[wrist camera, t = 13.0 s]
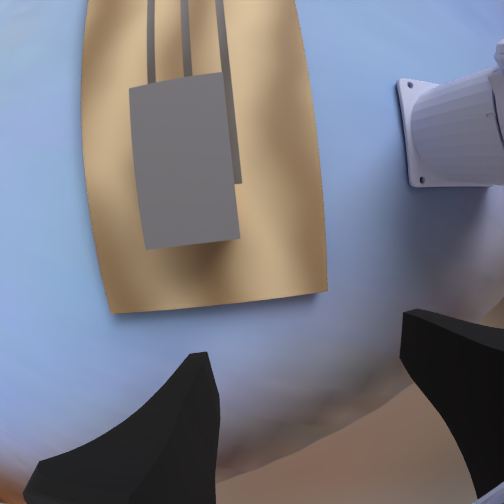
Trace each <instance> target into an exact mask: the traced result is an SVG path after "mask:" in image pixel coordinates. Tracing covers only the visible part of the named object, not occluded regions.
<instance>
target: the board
mask: <svg viewBox="0 0 504 504" xmlns="http://www.w3.org/2000/svg"><path fill="white" fill-rule="evenodd" d="M217 72H223V79H224V89H225V99H226V109H227V119H228V128H229V138H230V147H231V157H232V166H233V175H234V185H235V194H236V203H237V212H238V221H239V230H240V238H241V239H234V240H225V241H217V242H208V243H200V244H192V245H183V246H175V247H167V248H159V249H151V250H146V249H145V244H144V238H143V231H142V225H141V218H140V212H139V204H138V197H137V189H136V180H135V171H134V161H133V151H132V138H131V124H130V105H129V88H133V87H137V86H142V85H146V84H151V83H155V82H160V81H165V80H171V79H176V78H182V77H188V76H195V75H202V74H209V73H217ZM81 119H82V142H83V157H84V169H85V179H86V188H87V196H88V204H89V211H90V218H91V224H92V230H93V236H94V241H95V247H96V252H97V257H98V262H99V266H100V271H101V275H102V280H103V284H104V288H105V292H106V296H107V300H108V304H109V308H110V312H111V314H117V313H132V312H146V311H159V310H171V309H182V308H193V307H203V306H213V305H223V304H232V303H241V302H250V301H258V300H266V299H274V298H282V297H290V296H297V295H304V294H311V293H318V292H325V291H328V282H327V254H326V234H325V218H324V204H323V191H322V179H321V169H320V158H319V149H318V140H317V132H316V123H315V116H314V108H313V101H312V94H311V87H310V81H309V74H308V68H307V62H306V56H305V51H304V45H303V40H302V34H301V29H300V24H299V19H298V15H297V10H296V5H295V1H294V0H89V2H88V8H87V16H86V24H85V33H84V44H83V58H82V80H81Z"/></svg>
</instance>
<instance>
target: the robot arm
mask: <svg viewBox="0 0 504 504" xmlns="http://www.w3.org/2000/svg"><path fill="white" fill-rule="evenodd" d="M494 58H495V60H496V62H497V64H498V65H496V66H493V67H490V68H487V69H484V70H481V71H478V72H475V73H472V74H470V75H467V76H464V77H461V78H458V79H456V80H453V81H450V82H447V83H445V84H442V85H439V84H434V83H429V82H424V81H418V80H412V79H405V78H401V79H399V80H398V81H397V89H398V94H399V100H400V106H401V112H402V119H403V126H404V134H405V142H406V151H407V162H408V175H409V183H410V185H411V186H412V187H462V186H485V187H491V186H492V185H502V186H504V38H503V39H501V40H500V41H499V42H498V43H497V46H496V53H495V54H494ZM407 83H408V84H409V85H410V87H411V88H409V87H408V85H407ZM420 177H421V178H422V183H420ZM400 359H401V361H402V363H403V365H404V367H405V368H406V370H407V372H408V373H409V375H410V377H411V378H412V379H413V381H414V382H415V383H416V384H417V386H418V387H419V388H420V390H421V391H422V392H423V393H424V394H425V396H426V397H427V398H428V400H429V401H430V402H431V403H432V404H433V406H434V407H435V408H436V410H437V411H438V412H439V414H440V415H441V416H442V418H443V419H444V421H445V422H446V424H447V426H448V428H449V429H450V431H451V433H452V435H453V436H454V438H455V440H456V442H457V444H458V447H459V449H460V450H461V453H462V455H463V457H464V460H465V462H466V465H467V467H468V470H469V472H470V475H471V478H472V481H473V484H474V488H475V491H476V494H477V499H478V500H477V501H475V502H473V503H472V504H504V329H500V328H493V327H488V326H483V325H479V324H474V323H470V322H466V321H463V320H459V319H455V318H452V317H448V316H445V315H441V314H438V313H434V312H430V311H426V310H421V309H414V310H410V311H407V312H403V323H402V337H401V348H400ZM219 428H220V399H219V393H218V390H217V386H216V383H215V379H214V375H213V372H212V368H211V364H210V361H209V357H208V353H207V352H200V353H192V354H189V355H188V357H187V358H186V359H185V360H184V361H183V363H182V364H181V365H180V366H179V367H178V369H177V370H176V371H175V372H174V374H173V375H172V376H171V377H170V378H169V379H168V380H167V382H166V383H165V384H164V385H163V386H162V387H161V388H160V389H159V390H158V391H157V392H156V393H155V394H154V395H153V396H152V397H151V398H150V399H149V400H148V401H147V402H146V403H145V404H144V405H143V406H142V407H141V408H140V409H138V410H137V411H136V412H135V413H134V414H132V415H131V416H130V417H129V418H127V419H126V420H125V421H123V422H122V423H120V424H119V425H117V426H116V427H114V428H113V429H111V430H110V431H108V432H107V433H105V434H103V435H102V436H100V437H98V438H96V439H95V440H93V441H91V442H89V443H87V444H85V445H83V446H80V447H78V448H76V449H74V450H71V451H69V452H66V453H63V454H60V455H58V456H55V457H52V458H49V459H45V460H42V461H39V463H38V465H37V467H36V469H35V470H34V472H33V474H32V476H31V478H30V480H29V482H28V484H27V486H26V488H25V490H24V492H23V497H24V499H25V501H26V503H27V504H216V494H215V468H216V458H217V448H218V438H219Z"/></svg>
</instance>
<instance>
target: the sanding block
mask: <svg viewBox="0 0 504 504" xmlns="http://www.w3.org/2000/svg"><path fill="white" fill-rule="evenodd" d="M129 105H130V124H131V138H132V151H133V161H134V171H135V180H136V189H137V197H138V204H139V212H140V218H141V225H142V231H143V238H144V244H145V249H146V250H151V249H159V248H167V247H175V246H183V245H192V244H200V243H208V242H217V241H225V240H234V239H241V238H240V230H239V221H238V212H237V203H236V194H235V185H234V175H233V166H232V157H231V147H230V138H229V128H228V119H227V109H226V99H225V89H224V79H223V72H217V73H209V74H202V75H195V76H188V77H182V78H176V79H171V80H165V81H160V82H155V83H151V84H146V85H142V86H137V87H133V88H129Z"/></svg>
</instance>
